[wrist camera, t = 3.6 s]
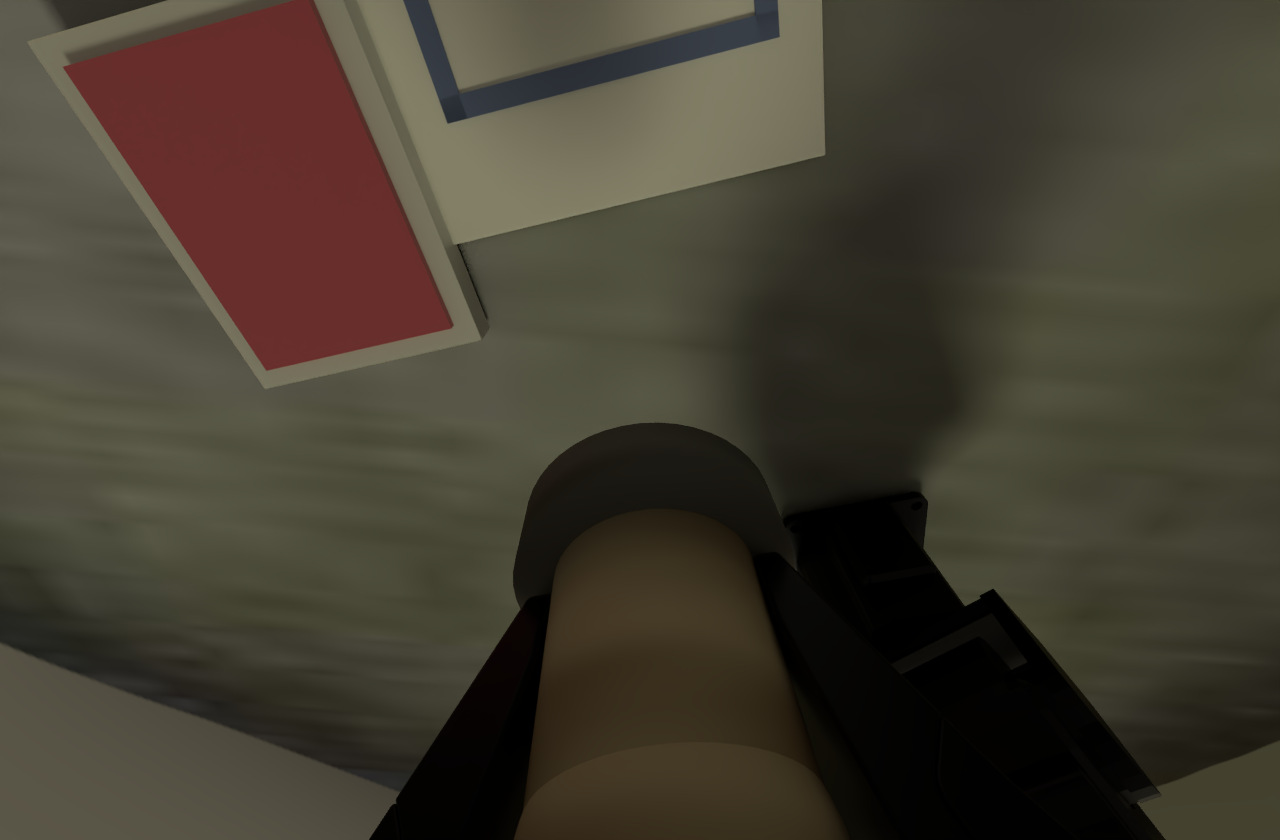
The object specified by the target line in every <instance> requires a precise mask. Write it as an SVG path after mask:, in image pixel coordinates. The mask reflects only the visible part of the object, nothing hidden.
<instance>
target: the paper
mask: <svg viewBox="0 0 1280 840" xmlns="http://www.w3.org/2000/svg"><path fill="white" fill-rule="evenodd" d="M357 3H358V5H359V8H360V10H361V13H362V15H363V18H364V20H365V23H366V25H367V28H368V30H369V33H370V35H371V38H372V41H373V43H374V46H375V48H376V51H377V53H378V56H379V58H380V61H381V63H382V66H383V68H384V71H385V73H386V76H387V78H388V81H389V83H390V86H391V88H392V91H393V93H394V96H395V98H396V101H397V103H398V106H399V109H400V111H401V114H402V116H403V119H404V121H405V124H406V126H407V129H408V131H409V134H410V136H411V139H412V141H413V144H414V146H415V149H416V151H417V154H418V156H419V159H420V161H421V164H422V166H423V169H424V171H425V174H426V176H427V179H428V182H429V184H430V187H431V189H432V192H433V194H434V197H435V199H436V202H437V204H438V207H439V209H440V212H441V214H442V217H443V219H444V222H445V224H446V227H447V229H448V232H449V234H450V237H451V239H452V242H453V244H454V245H456V244H460V243H464V242H468V241H472V240H476V239H481V238H485V237H489V236H493V235H497V234H501V233H505V232H510V231H514V230H518V229H522V228H526V227H530V226H534V225H538V224H543V223H547V222H551V221H555V220H559V219H563V218H567V217H572V216H576V215H580V214H584V213H588V212H592V211H596V210H600V209H605V208H609V207H613V206H617V205H621V204H625V203H629V202H634V201H638V200H642V199H646V198H650V197H654V196H658V195H663V194H667V193H671V192H675V191H679V190H683V189H687V188H691V187H696V186H700V185H704V184H708V183H712V182H716V181H720V180H725V179H729V178H733V177H737V176H741V175H745V174H749V173H754V172H758V171H762V170H766V169H770V168H774V167H778V166H782V165H787V164H791V163H795V162H799V161H803V160H807V159H811V158H816V157H820V156H824V155H825V121H824V74H823V27H822V0H357Z"/></svg>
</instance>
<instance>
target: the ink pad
mask: <svg viewBox="0 0 1280 840" xmlns="http://www.w3.org/2000/svg"><path fill="white" fill-rule="evenodd" d="M27 43H28V45H29V46H30V48H31V49H32V51H33V52H34V53H35V55H36V56H37V58H38V59H39V61H40V62H41V64H42V65H43V67H44V68H45V69H46V71H47V72H48V74H49V75H50V77H51V78H52V80H53V81H54V83H55V84H56V85H57V87H58V88H59V90H60V91H61V93H62V94H63V96H64V97H65V99H66V100H67V101H68V103H69V104H70V106H71V107H72V109H73V110H74V112H75V113H76V115H77V116H78V118H79V119H80V120H81V122H82V123H83V125H84V126H85V128H86V129H87V131H88V132H89V134H90V135H91V136H92V138H93V139H94V141H95V142H96V144H97V145H98V147H99V148H100V150H101V151H102V152H103V154H104V155H105V157H106V158H107V160H108V161H109V163H110V164H111V166H112V167H113V168H114V170H115V171H116V173H117V174H118V176H119V177H120V179H121V180H122V182H123V183H124V185H125V186H126V187H127V189H128V190H129V192H130V193H131V195H132V196H133V198H134V199H135V201H136V202H137V203H138V205H139V206H140V208H141V209H142V211H143V212H144V214H145V215H146V217H147V218H148V219H149V221H150V222H151V224H152V225H153V227H154V228H155V230H156V231H157V233H158V234H159V235H160V237H161V238H162V240H163V241H164V243H165V244H166V246H167V247H168V249H169V250H170V252H171V253H172V254H173V256H174V257H175V259H176V260H177V262H178V263H179V265H180V266H181V268H182V269H183V270H184V272H185V273H186V275H187V276H188V278H189V279H190V281H191V282H192V284H193V285H194V286H195V288H196V289H197V291H198V292H199V294H200V295H201V297H202V298H203V300H204V301H205V303H206V304H207V305H208V307H209V308H210V310H211V311H212V313H213V314H214V316H215V317H216V319H217V320H218V321H219V323H220V324H221V326H222V327H223V329H224V330H225V332H226V333H227V335H228V336H229V337H230V339H231V340H232V342H233V343H234V345H235V346H236V348H237V349H238V351H239V352H240V353H241V355H242V356H243V358H244V359H245V361H246V362H247V364H248V365H249V367H250V368H251V370H252V371H253V372H254V374H255V375H256V377H257V378H258V380H259V381H260V383H261V384H262V386H263V387H264V388H265V389H268V388H272V387H277V386H281V385H285V384H290V383H294V382H299V381H303V380H308V379H312V378H316V377H321V376H325V375H330V374H334V373H339V372H343V371H347V370H352V369H356V368H361V367H365V366H370V365H374V364H378V363H383V362H387V361H392V360H396V359H401V358H405V357H409V356H414V355H418V354H423V353H427V352H432V351H436V350H440V349H445V348H449V347H454V346H458V345H463V344H467V343H471V342H476V341H480V340H482V339H483V337H484V336H485V334H486V333H487V331H488V329H489V325H488V322H487V320H486V317H485V315H484V312H483V310H482V307H481V305H480V302H479V300H478V297H477V294H476V292H475V289H474V287H473V284H472V282H471V279H470V277H469V274H468V272H467V269H466V267H465V264H464V261H463V259H462V256H461V254H460V251H459V249H458V246H457V244H456V245H454V244H453V242H452V239H451V237H450V234H449V232H448V229H447V227H446V224H445V222H444V219H443V217H442V214H441V212H440V209H439V207H438V204H437V202H436V199H435V197H434V194H433V192H432V189H431V187H430V184H429V182H428V179H427V176H426V174H425V171H424V169H423V166H422V164H421V161H420V159H419V156H418V154H417V151H416V149H415V146H414V144H413V141H412V139H411V136H410V134H409V131H408V129H407V126H406V124H405V121H404V119H403V116H402V114H401V111H400V109H399V106H398V103H397V101H396V98H395V96H394V93H393V91H392V88H391V86H390V83H389V81H388V78H387V76H386V73H385V71H384V68H383V66H382V63H381V61H380V58H379V56H378V53H377V51H376V48H375V46H374V43H373V41H372V38H371V35H370V33H369V30H368V28H367V25H366V23H365V20H364V18H363V15H362V13H361V10H360V8H359V5H358V3H357V0H167V1H163V2H160V3H156V4H153V5H150V6H146V7H143V8H139V9H136V10H133V11H129V12H126V13H122V14H119V15H116V16H112V17H109V18H105V19H102V20H99V21H95V22H92V23H88V24H85V25H82V26H78V27H75V28H71V29H68V30H65V31H61V32H58V33H54V34H51V35H48V36H44V37H41V38H37V39H34V40H30V41H27Z"/></svg>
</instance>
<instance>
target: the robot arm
mask: <svg viewBox="0 0 1280 840" xmlns="http://www.w3.org/2000/svg"><path fill="white" fill-rule="evenodd" d="M915 502H916V503H915ZM914 503H915V504H914ZM927 509H928V501H927V500H926V499H925V497H924V496H923V495H922V494H921V493H919V492H911V493H906V494H900V495H895V496H890V497H884V498H879V499H874V500H869V501H863V502H858V503H853V504H847V505H842V506H837V507H831V508H826V509H821V510H816V511H810V512H805V513H800V514H794V515H791V516H788V517H787V518H785V520H784V521H783V524H784V527H785V529H786V532H787V534H788V537H789V539H790V542H791V544H792V547H793V553H794V558H795V569H794V568H793V567H792V566H791V565H790V564H789V563H788V562H787V561H786V560H785V559H784V558H783V557H782V556H781V555H780V554H779V553H777V552H768V553H763V554H758V555H756V556H755V557H754V564H755V567H756V570H757V573H758V576H759V580H760V583H761V586H762V589H763V592H764V595H765V599H766V602H767V605H768V608H769V611H770V614H771V618H772V621H773V624H774V627H775V630H776V633H777V636H778V639H779V642H780V645H781V648H782V652H783V655H784V658H785V661H786V664H787V667H788V671H789V674H790V677H791V680H792V683H793V686H794V690H795V693H796V696H797V699H798V702H799V705H800V709H801V712H802V715H803V718H804V721H805V724H806V727H807V731H808V734H809V737H810V740H811V743H812V746H813V750H814V753H815V756H816V759H817V762H818V765H819V769H820V772H821V775H822V778H823V781H824V784H825V787H826V789H827V790H828V792H829V794H830V796H831V798H832V800H833V802H834V804H835V806H836V808H837V809H838V811H839V813H840V815H841V817H842V819H843V821H844V823H845V825H846V828H847V830H848V833H849V835H850V838H851V840H1166V839H1165V838H1164V837H1163V836H1162V834H1161V833H1160V832H1159V830H1158V829H1157V828H1156V827H1155V825H1154V824H1153V823H1152V822H1151V820H1150V819H1149V818H1148V817H1147V815H1146V814H1145V813H1144V811H1143V810H1142V809H1141V807H1140V806H1139V805H1138V804H1137V802H1140V803H1143V802H1146V801H1149V800H1151V799H1155V798H1157V797H1160V796H1161V793H1160V792H1159V791H1158V790H1157V788H1156V787H1155V786H1154V784H1153V783H1152V782H1151V780H1150V779H1149V778H1148V777H1147V775H1146V774H1145V773H1144V771H1143V770H1142V769H1141V767H1140V766H1139V765H1138V764H1137V762H1136V761H1135V760H1134V758H1133V757H1132V756H1131V755H1130V753H1129V752H1128V751H1127V749H1126V748H1125V747H1124V746H1123V744H1122V743H1121V742H1120V740H1119V739H1118V738H1117V737H1116V735H1115V734H1114V733H1113V731H1112V730H1111V729H1110V728H1109V726H1108V725H1107V724H1106V722H1105V721H1104V720H1103V719H1102V717H1101V716H1100V715H1099V713H1098V712H1097V711H1096V710H1095V708H1094V707H1093V706H1092V704H1091V703H1090V702H1089V701H1088V699H1087V698H1086V697H1085V696H1084V694H1083V693H1082V692H1081V691H1080V690H1079V688H1078V687H1077V686H1076V685H1075V684H1074V682H1073V681H1072V680H1071V679H1070V678H1069V676H1068V675H1067V674H1066V673H1065V671H1064V670H1063V669H1062V668H1061V667H1060V665H1059V664H1058V663H1057V662H1056V661H1055V659H1054V658H1053V657H1052V656H1051V655H1050V653H1049V652H1048V651H1047V650H1046V648H1045V647H1044V646H1043V645H1042V644H1041V642H1040V641H1039V640H1038V639H1037V638H1036V637H1035V636H1034V634H1033V633H1032V632H1031V631H1030V630H1029V629H1028V628H1027V626H1026V625H1025V624H1024V623H1023V622H1022V621H1021V620H1020V619H1019V617H1018V616H1017V615H1016V614H1015V613H1014V612H1013V611H1012V609H1011V608H1010V607H1009V606H1008V605H1007V604H1006V603H1005V601H1004V600H1003V599H1002V598H1001V597H1000V596H999V595H998V593H997V592H996V591H995V590H994V589H991V590H990V591H988V592H986V593H984V594H982V595H980V597H981V598H980V599H979V600H977V601H975V602H973V603H971V604H969V605H967V606H964V604H963V603H962V602H961V600H960V599H959V597H958V596H957V595H956V593H955V592H954V590H953V589H952V588H951V586H950V585H949V583H948V582H947V581H946V579H945V578H944V577H943V575H942V574H941V572H940V571H939V570H938V568H937V567H936V565H935V564H934V563H933V561H932V560H931V559H930V557H929V556H928V554H927V553H926V552H925V550H924V549H923V546H924V537H925V527H926V518H927ZM793 525H796V526H794V527H792V526H793ZM550 603H551V594H543V595H537V596H532V597H530V598H529V599H527V600H526V602H525V603H524V605H523V606H522V608H521V609H520V611H519V612H518V614H517V615H516V617H515V619H514V620H513V622H512V623H511V625H510V626H509V628H508V629H507V631H506V632H505V634H504V635H503V637H502V638H501V640H500V641H499V643H498V644H497V646H496V647H495V649H494V651H493V652H492V654H491V655H490V657H489V658H488V660H487V661H486V663H485V664H484V666H483V667H482V669H481V670H480V672H479V673H478V675H477V676H476V678H475V679H474V681H473V682H472V684H471V686H470V687H469V689H468V690H467V692H466V693H465V695H464V696H463V698H462V699H461V701H460V702H459V704H458V705H457V707H456V708H455V710H454V711H453V713H452V714H451V716H450V718H449V719H448V721H447V722H446V724H445V725H444V727H443V728H442V730H441V731H440V733H439V734H438V736H437V737H436V739H435V740H434V742H433V743H432V745H431V746H430V748H429V749H428V751H427V753H426V754H425V756H424V757H423V759H422V760H421V762H420V763H419V765H418V766H417V768H416V769H415V771H414V772H413V774H412V775H411V777H410V778H409V780H408V781H407V783H406V785H405V786H404V788H403V789H402V791H401V792H400V794H399V795H398V797H397V798H396V804H393V805H392V806H391V807H390V809H389V810H388V812H387V813H386V815H385V816H384V818H383V819H382V821H381V822H380V824H379V826H378V827H377V828H376V830H375V831H374V833H373V834H372V836H371V837H370V839H369V840H514V837H515V833H516V830H517V827H518V824H519V820H520V818H521V815H522V813H523V805H524V798H525V790H526V783H527V775H528V768H529V760H530V753H531V745H532V738H533V730H534V723H535V715H536V708H537V700H538V693H539V685H540V678H541V670H542V663H543V655H544V648H545V640H546V633H547V625H548V618H549V610H550Z"/></svg>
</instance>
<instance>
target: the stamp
mask: <svg viewBox="0 0 1280 840" xmlns="http://www.w3.org/2000/svg"><path fill="white" fill-rule="evenodd" d="M768 552H777V553H779V554H780V555H781V556H782V557H783V558H784V559H785V560H786V561H787V562H788V563H789V564H790V565H791V566H792V567H793V568H794V569H795V558H794V553H793V547H792V544H791V542H790V539H789V537H788V534H787V532H786V529H785V527H784V524H783V522H782V520H781V517H780V515H779V513H778V510H777V508H776V505H775V503H774V501H773V498H772V496H771V493H770V491H769V489H768V486H767V484H766V481H765V479H764V478H763V476H762V474H761V473H760V471H759V469H758V468H757V467H756V465H755V464H754V463H753V462H752V461H751V459H750V458H749V457H748V456H747V455H745V454H744V453H743V452H742V451H741V450H740V449H738V448H737V447H736V446H734V445H732V444H731V443H729V442H728V441H726V440H725V439H723V438H720V437H718V436H716V435H714V434H712V433H710V432H706V431H703V430H700V429H697V428H694V427H689V426H684V425H679V424H669V423H639V424H632V425H626V426H620V427H617V428H613V429H609V430H605V431H603V432H600V433H598V434H595V435H592V436H590V437H588V438H586V439H584V440H582V441H580V442H578V443H577V444H575V445H573V446H572V447H570V448H569V449H567V450H566V451H565V452H563V453H562V454H561V455H559V456H558V457H557V458H556V459H555V460H554V461H553V462H552V463H551V464H550V465H549V466H548V467H547V468H546V470H545V471H544V472H543V474H542V475H541V476H540V478H539V479H538V481H537V483H536V485H535V487H534V488H533V491H532V493H531V496H530V499H529V502H528V506H527V511H526V515H525V519H524V524H523V528H522V533H521V537H520V542H519V546H518V550H517V555H516V559H515V565H514V571H513V586H514V591H515V595H516V599H517V602H518V604H519V606H520V609H521V608H522V606H523V605H524V603H525V602H526V600H527V599H529V598H530V597H532V596H537V595H543V594H551V603H550V610H549V618H548V625H547V633H546V640H545V648H544V655H543V663H542V670H541V678H540V685H539V693H538V700H537V708H536V715H535V723H534V730H533V738H532V745H531V753H530V760H529V768H528V775H527V783H526V790H525V798H524V805H523V813H522V815H521V818H520V820H519V824H518V827H517V830H516V833H515V837H514V840H851V838H850V835H849V833H848V830H847V828H846V825H845V823H844V821H843V819H842V817H841V815H840V813H839V811H838V809H837V808H836V806H835V804H834V802H833V800H832V798H831V796H830V794H829V792H828V790H827V789H826V787H825V784H824V781H823V778H822V775H821V772H820V769H819V765H818V762H817V759H816V756H815V753H814V750H813V746H812V743H811V740H810V737H809V734H808V731H807V727H806V724H805V721H804V718H803V715H802V712H801V709H800V705H799V702H798V699H797V696H796V693H795V690H794V686H793V683H792V680H791V677H790V674H789V671H788V667H787V664H786V661H785V658H784V655H783V652H782V648H781V645H780V642H779V639H778V636H777V633H776V630H775V627H774V624H773V621H772V618H771V614H770V611H769V608H768V605H767V602H766V599H765V595H764V592H763V589H762V586H761V583H760V580H759V576H758V573H757V570H756V567H755V564H754V557H755V556H756V555H758V554H763V553H768Z"/></svg>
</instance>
